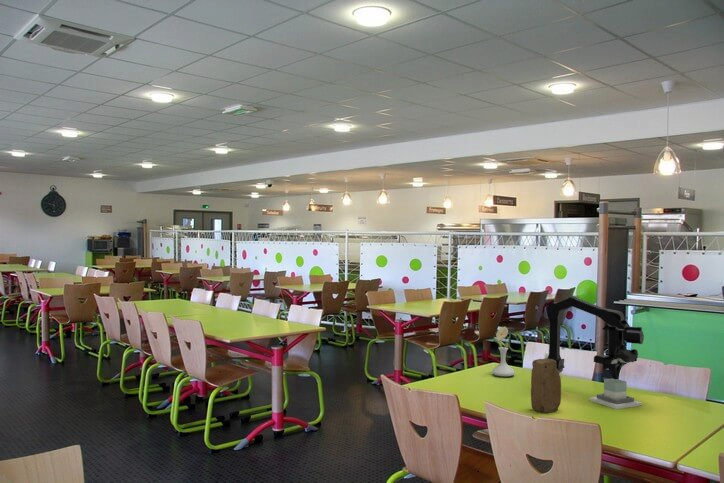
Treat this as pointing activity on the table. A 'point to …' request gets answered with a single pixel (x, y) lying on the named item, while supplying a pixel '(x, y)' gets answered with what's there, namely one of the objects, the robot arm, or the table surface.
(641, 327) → the robot arm
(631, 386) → the table surface
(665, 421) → the table surface
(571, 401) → the table surface
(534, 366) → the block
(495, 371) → the flower in vase
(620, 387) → the grey green box
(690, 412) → the table surface
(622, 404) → the socket plate
